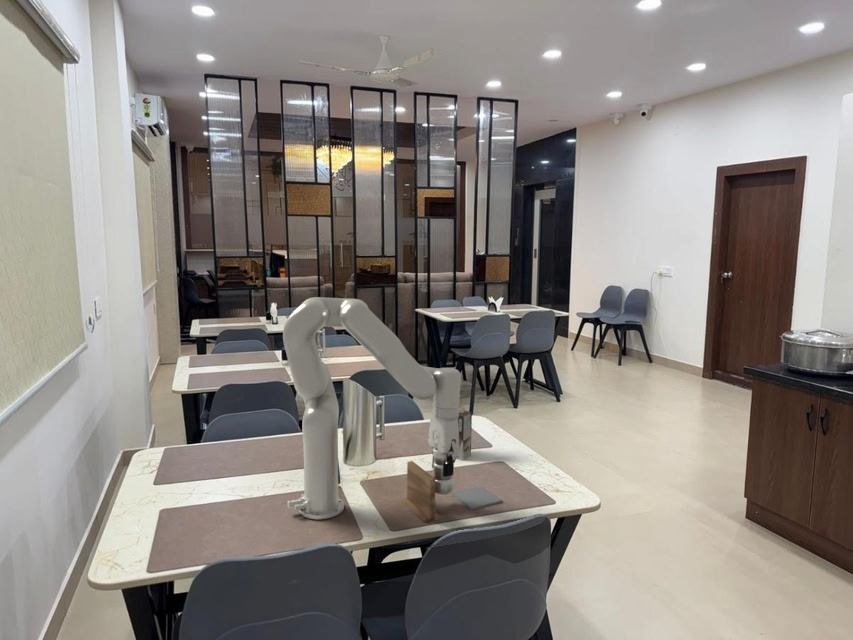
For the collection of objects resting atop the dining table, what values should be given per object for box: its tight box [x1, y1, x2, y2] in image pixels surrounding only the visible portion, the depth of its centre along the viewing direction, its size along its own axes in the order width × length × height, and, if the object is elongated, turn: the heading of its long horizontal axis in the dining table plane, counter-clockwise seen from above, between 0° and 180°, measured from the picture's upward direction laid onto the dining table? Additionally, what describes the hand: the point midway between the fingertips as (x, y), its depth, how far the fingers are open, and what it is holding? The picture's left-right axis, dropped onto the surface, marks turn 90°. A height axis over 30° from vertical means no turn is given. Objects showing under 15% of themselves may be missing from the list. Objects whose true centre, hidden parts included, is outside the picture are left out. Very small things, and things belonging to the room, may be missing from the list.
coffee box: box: [456, 409, 473, 461], centre depth 201 cm, size 9×6×16 cm
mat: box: [450, 485, 503, 511], centre depth 168 cm, size 11×11×1 cm
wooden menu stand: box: [401, 460, 441, 523], centre depth 160 cm, size 5×14×12 cm, turn 28°
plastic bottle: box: [431, 440, 454, 496], centre depth 162 cm, size 6×7×20 cm
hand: (442, 471), depth 163 cm, fingers closed on plastic bottle, 5 cm apart
